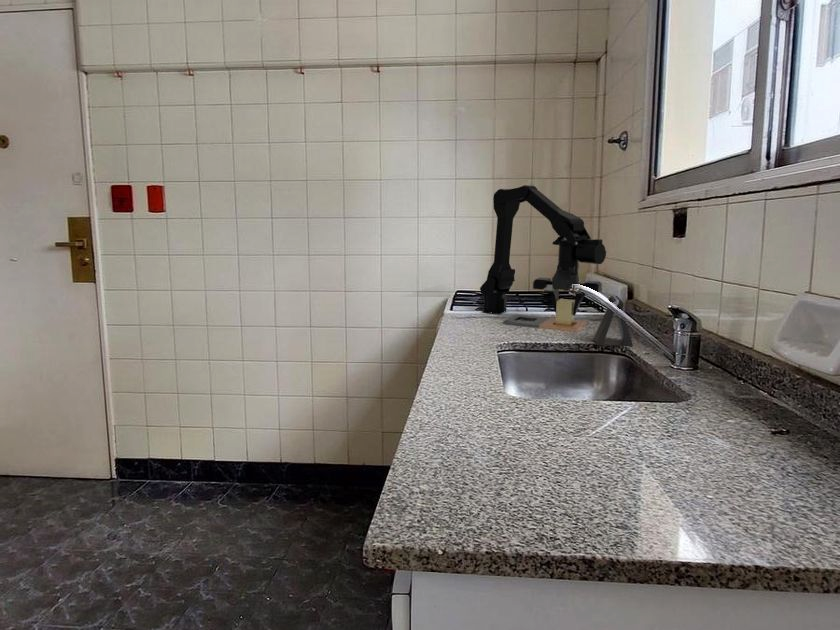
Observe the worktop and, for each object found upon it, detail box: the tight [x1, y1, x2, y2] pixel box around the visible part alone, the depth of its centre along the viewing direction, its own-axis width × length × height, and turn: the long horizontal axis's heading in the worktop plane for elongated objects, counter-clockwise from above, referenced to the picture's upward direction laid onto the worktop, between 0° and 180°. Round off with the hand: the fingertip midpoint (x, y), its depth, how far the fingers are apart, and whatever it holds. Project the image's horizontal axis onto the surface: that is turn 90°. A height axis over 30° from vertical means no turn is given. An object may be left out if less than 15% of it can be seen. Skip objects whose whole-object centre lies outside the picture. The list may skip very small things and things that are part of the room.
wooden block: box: [555, 298, 576, 326], centre depth 164 cm, size 4×4×7 cm
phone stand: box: [593, 295, 634, 348], centre depth 144 cm, size 9×6×12 cm, turn 78°
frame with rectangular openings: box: [502, 314, 588, 333], centre depth 167 cm, size 22×12×1 cm, turn 61°
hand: (565, 314), depth 164 cm, fingers open, 5 cm apart
